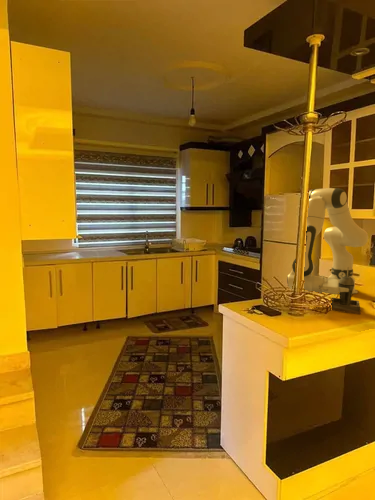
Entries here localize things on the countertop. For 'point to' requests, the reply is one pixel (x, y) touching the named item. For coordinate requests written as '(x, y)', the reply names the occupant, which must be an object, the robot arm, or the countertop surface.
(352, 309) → the dock plate
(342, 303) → the beverage cup
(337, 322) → the countertop surface
